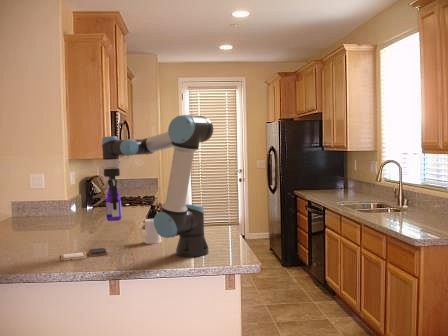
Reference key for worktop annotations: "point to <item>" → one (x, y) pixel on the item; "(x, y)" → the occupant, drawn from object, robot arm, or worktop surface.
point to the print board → (73, 255)
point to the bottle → (109, 207)
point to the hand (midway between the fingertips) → (114, 215)
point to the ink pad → (97, 252)
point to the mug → (150, 232)
